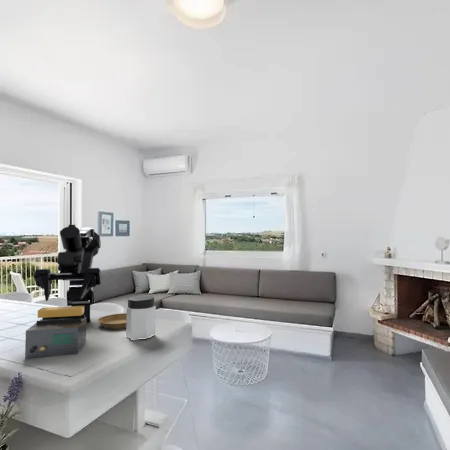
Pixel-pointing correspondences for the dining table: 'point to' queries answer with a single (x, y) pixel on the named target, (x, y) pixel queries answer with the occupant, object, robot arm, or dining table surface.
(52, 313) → the key
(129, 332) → the jar
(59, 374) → the dining table surface
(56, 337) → the box
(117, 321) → the plant saucer
